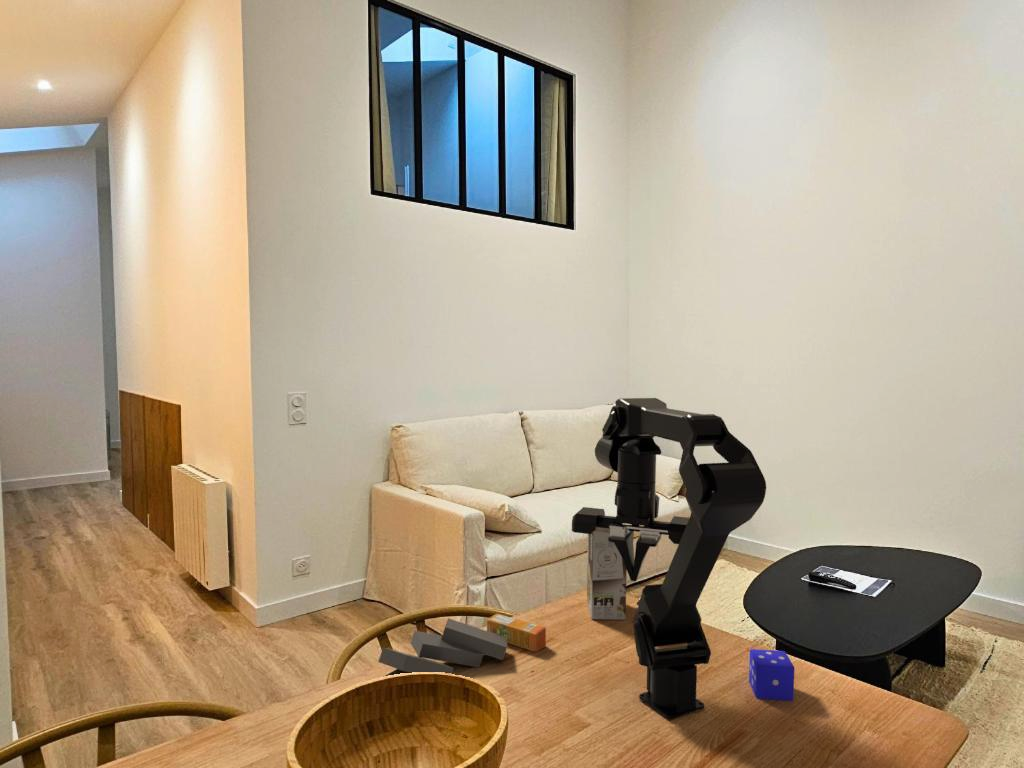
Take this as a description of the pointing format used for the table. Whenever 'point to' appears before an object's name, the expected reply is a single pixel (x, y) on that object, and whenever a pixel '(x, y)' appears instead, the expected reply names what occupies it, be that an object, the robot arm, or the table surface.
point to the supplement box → (518, 632)
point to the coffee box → (605, 577)
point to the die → (771, 675)
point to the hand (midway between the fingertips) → (634, 580)
